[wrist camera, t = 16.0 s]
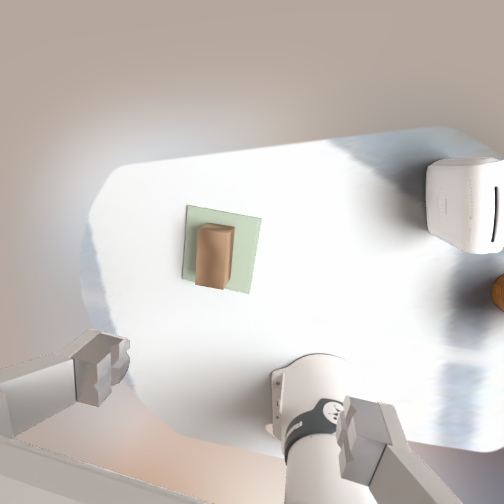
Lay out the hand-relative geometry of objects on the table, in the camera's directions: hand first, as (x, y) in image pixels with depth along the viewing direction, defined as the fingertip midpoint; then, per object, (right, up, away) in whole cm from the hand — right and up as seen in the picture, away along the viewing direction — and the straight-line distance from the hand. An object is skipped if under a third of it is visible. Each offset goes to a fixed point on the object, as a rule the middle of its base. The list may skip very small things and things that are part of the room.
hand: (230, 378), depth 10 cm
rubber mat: (-4, +5, +37) cm, 37 cm away
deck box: (-5, +5, +36) cm, 37 cm away
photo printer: (+27, +12, +29) cm, 41 cm away
